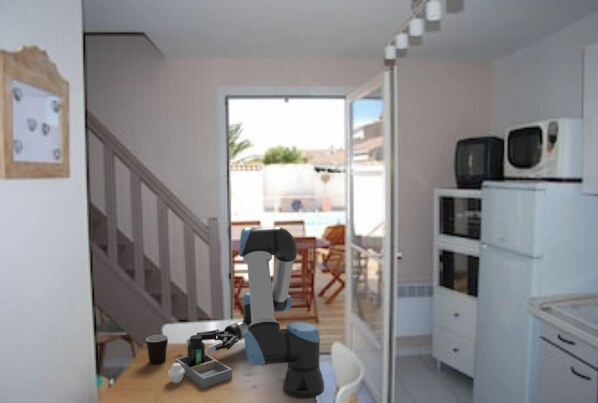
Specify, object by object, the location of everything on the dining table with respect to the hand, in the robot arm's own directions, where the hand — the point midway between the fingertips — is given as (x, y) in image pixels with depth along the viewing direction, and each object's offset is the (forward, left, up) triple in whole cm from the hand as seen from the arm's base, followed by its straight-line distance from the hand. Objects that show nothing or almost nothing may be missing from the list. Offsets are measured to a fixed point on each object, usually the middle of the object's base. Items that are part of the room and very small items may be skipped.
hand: (197, 346), depth 172 cm
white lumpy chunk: (-6, +12, -9) cm, 16 cm away
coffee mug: (+17, +9, -9) cm, 21 cm away
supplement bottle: (0, +1, -8) cm, 8 cm away
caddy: (-6, +1, -9) cm, 11 cm away
